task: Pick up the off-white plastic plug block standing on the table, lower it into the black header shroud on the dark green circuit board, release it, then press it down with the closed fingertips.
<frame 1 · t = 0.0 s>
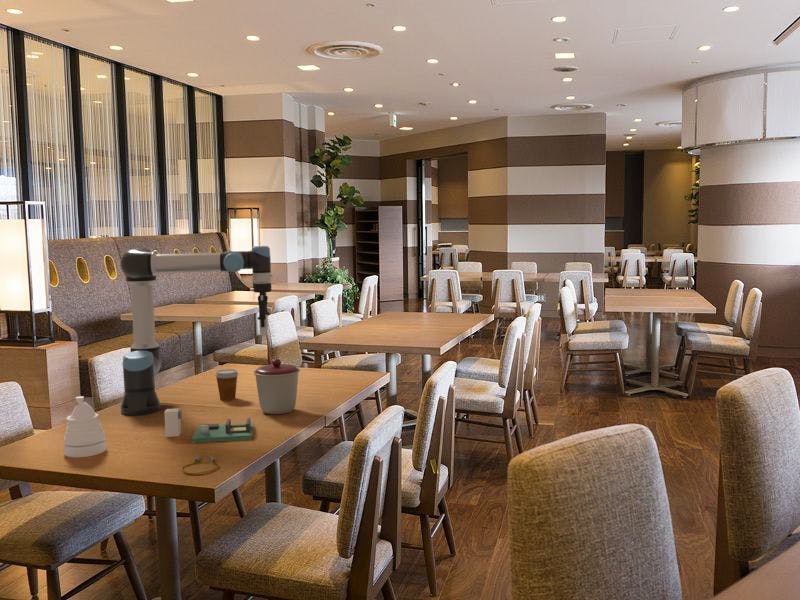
hand: (264, 332, 314), 28 cm above the table, tool pointing down, fingers open, 13 cm apart
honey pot: (85, 451, 245), on the table
canister: (278, 411, 292), on the table
disposable coffee cup: (227, 399, 314), on the table
board: (224, 434, 261), on the table
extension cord: (202, 468, 228), on the table
plug: (173, 434, 262), on the table
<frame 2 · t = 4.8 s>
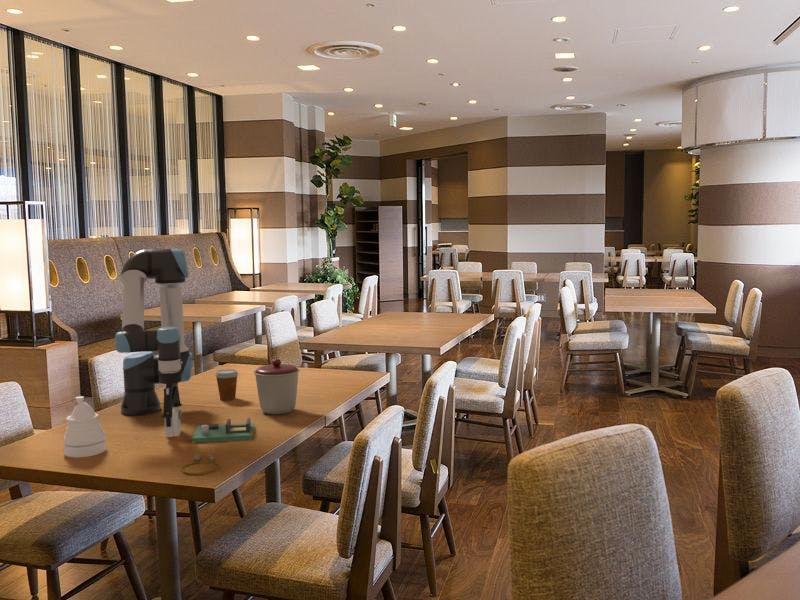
hand: (173, 430, 262), 2 cm above the table, tool pointing down, fingers open, 13 cm apart
nothing on the table moved.
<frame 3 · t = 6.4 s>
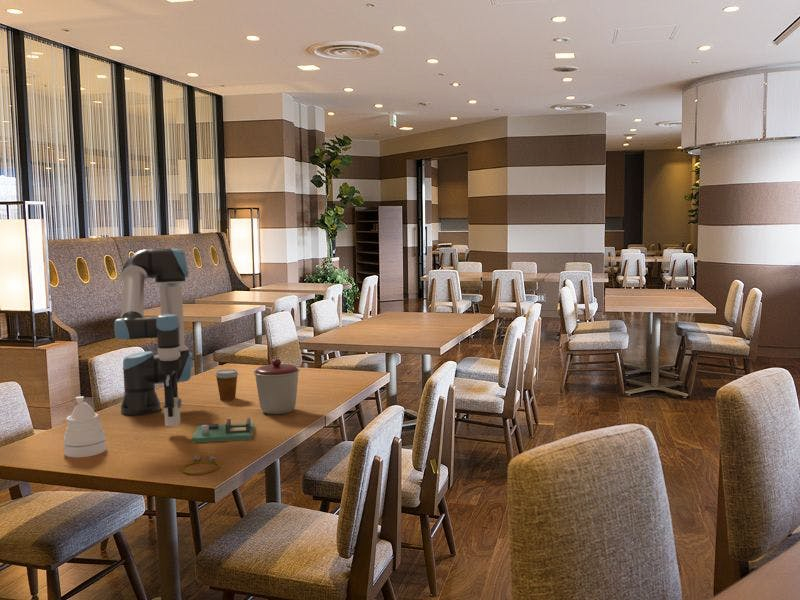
hand: (172, 422, 262), 4 cm above the table, tool pointing down, fingers closed on plug, 4 cm apart
plug: (172, 423, 262), point 4 cm above the table, touching gripper
everything else where it was.
when the fingers open (3 cm above the table, at t = 10.1 s): plug drops 1 cm, resting on board.
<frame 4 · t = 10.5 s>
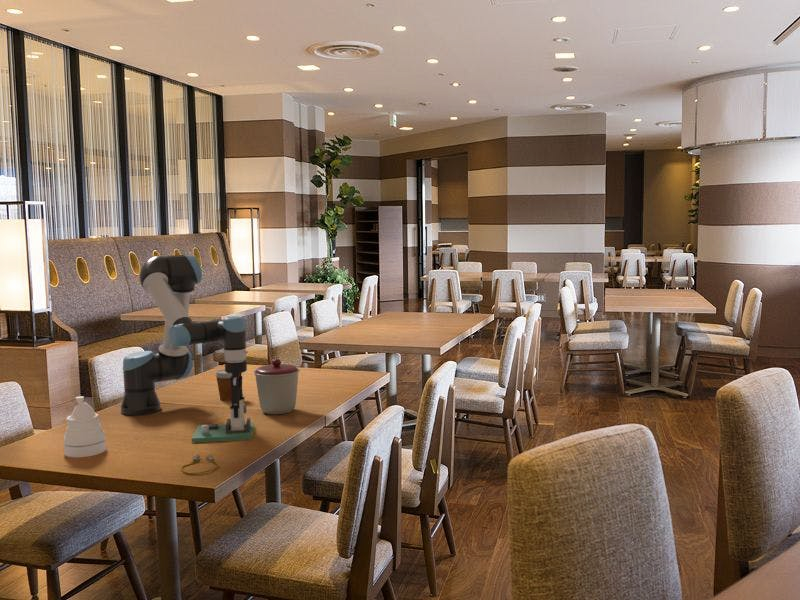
hand: (238, 422, 262), 4 cm above the table, tool pointing down, fingers open, 10 cm apart
plug: (238, 429, 262), point 2 cm above the table, touching board
everything else where it was.
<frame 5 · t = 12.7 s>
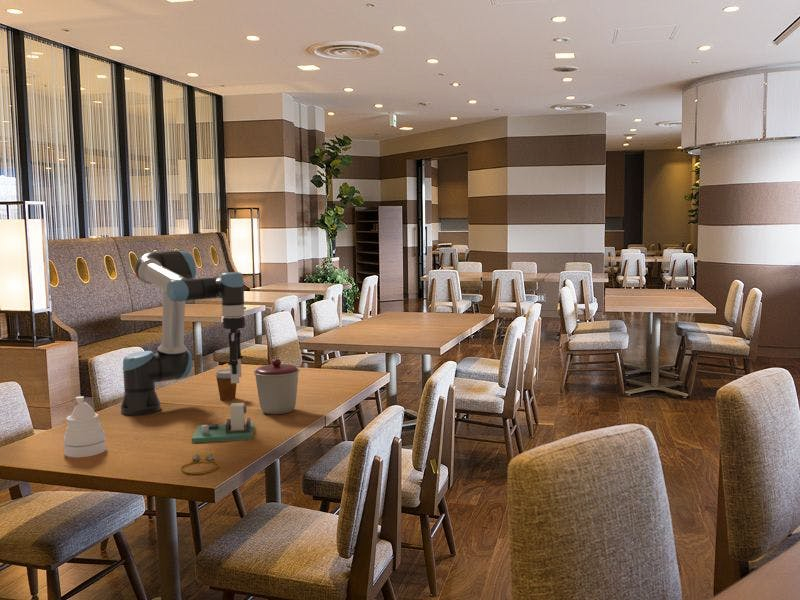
hand: (236, 379, 260), 19 cm above the table, tool pointing down, fingers open, 9 cm apart
nothing on the table moved.
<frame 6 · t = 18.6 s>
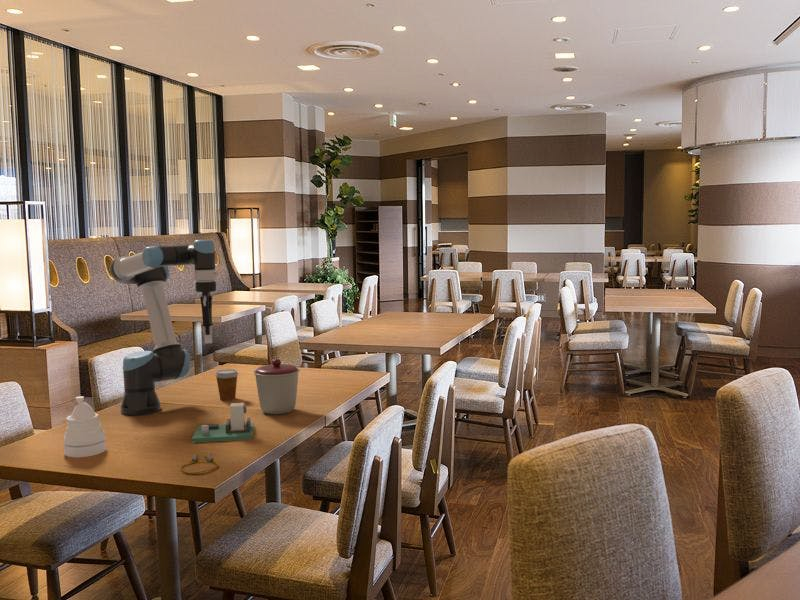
hand: (208, 342, 280), 29 cm above the table, tool pointing down, fingers closed
nothing on the table moved.
at the end: plug 0.1 cm from the target spot on the board, point 1.6 cm above the board's base; plug tilted 0°; the gripper is holding nothing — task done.
